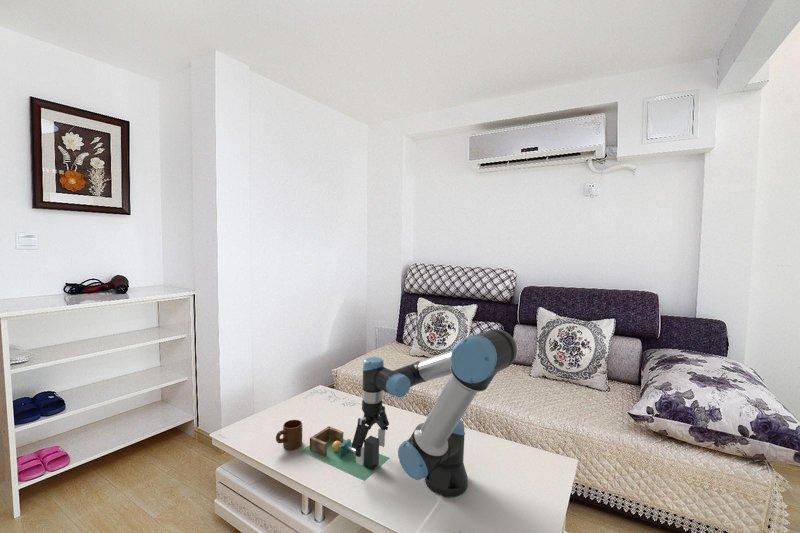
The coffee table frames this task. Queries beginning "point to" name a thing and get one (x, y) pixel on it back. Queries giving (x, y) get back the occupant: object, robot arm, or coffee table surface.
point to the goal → (320, 439)
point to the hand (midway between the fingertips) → (370, 454)
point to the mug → (291, 435)
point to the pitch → (346, 461)
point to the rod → (369, 451)
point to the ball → (336, 446)
